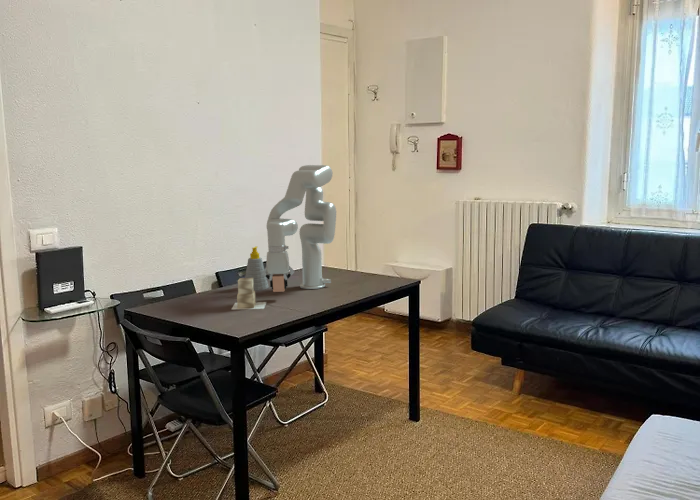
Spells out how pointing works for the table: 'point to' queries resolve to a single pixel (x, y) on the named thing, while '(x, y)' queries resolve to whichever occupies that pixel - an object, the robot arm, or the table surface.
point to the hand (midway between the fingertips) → (279, 288)
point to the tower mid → (245, 286)
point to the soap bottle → (256, 271)
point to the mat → (257, 306)
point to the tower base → (246, 300)
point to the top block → (278, 282)
